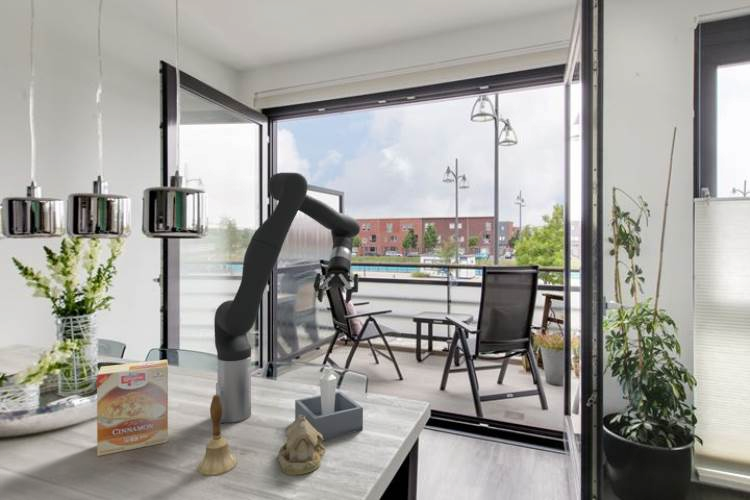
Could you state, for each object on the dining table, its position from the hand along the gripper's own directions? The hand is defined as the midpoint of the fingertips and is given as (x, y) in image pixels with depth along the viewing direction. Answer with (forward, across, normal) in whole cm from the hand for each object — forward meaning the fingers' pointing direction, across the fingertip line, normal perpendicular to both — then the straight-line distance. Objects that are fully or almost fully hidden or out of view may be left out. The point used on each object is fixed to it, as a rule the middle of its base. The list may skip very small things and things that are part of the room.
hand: (333, 301), depth 129 cm
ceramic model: (+47, -1, -1) cm, 47 cm away
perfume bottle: (+34, +2, +10) cm, 35 cm away
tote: (+34, +2, +11) cm, 36 cm away
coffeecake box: (+45, -44, +1) cm, 63 cm away
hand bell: (+50, -19, -4) cm, 54 cm away
